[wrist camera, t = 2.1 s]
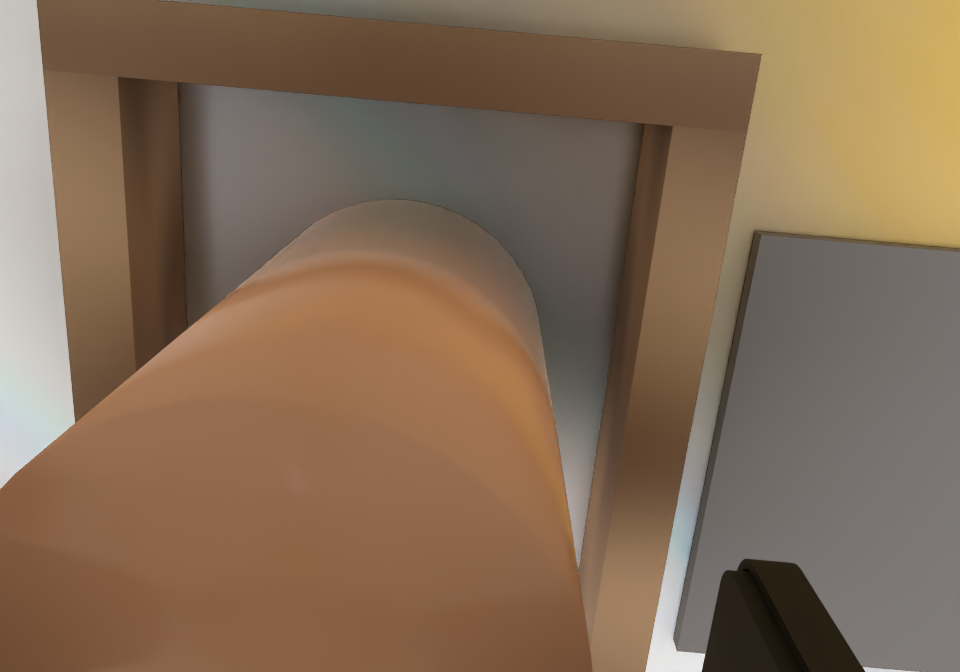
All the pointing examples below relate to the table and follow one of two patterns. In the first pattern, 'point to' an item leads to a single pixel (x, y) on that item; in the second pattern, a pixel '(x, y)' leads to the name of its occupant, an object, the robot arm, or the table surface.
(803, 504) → the mat
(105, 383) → the brown wooden u-shaped piece
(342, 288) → the pink mug
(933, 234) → the table surface
